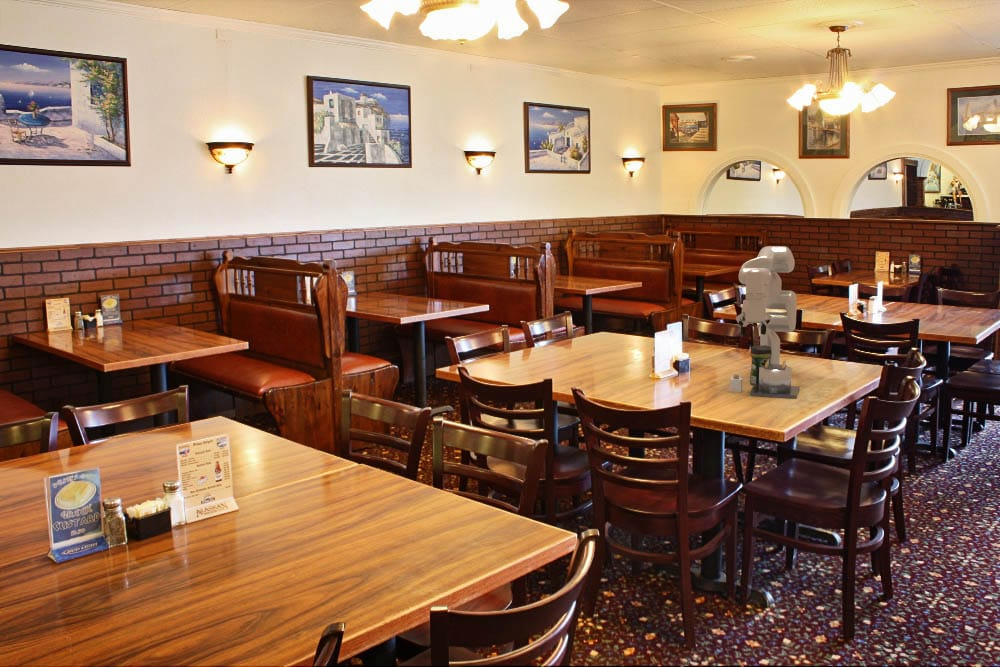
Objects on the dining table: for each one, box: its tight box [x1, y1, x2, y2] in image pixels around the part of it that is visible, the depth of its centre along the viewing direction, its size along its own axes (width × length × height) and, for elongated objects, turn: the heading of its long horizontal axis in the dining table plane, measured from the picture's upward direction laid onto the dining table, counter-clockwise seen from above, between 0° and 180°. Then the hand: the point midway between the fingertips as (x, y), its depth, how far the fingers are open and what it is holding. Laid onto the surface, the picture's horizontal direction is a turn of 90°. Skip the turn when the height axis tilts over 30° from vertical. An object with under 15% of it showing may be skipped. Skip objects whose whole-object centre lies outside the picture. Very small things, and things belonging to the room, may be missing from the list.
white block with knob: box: [729, 374, 743, 394], centre depth 405 cm, size 5×5×8 cm
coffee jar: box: [749, 345, 772, 386], centre depth 418 cm, size 10×8×19 cm
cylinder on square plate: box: [749, 360, 800, 400], centre depth 400 cm, size 20×20×14 cm
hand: (753, 334), depth 396 cm, fingers open, 9 cm apart
